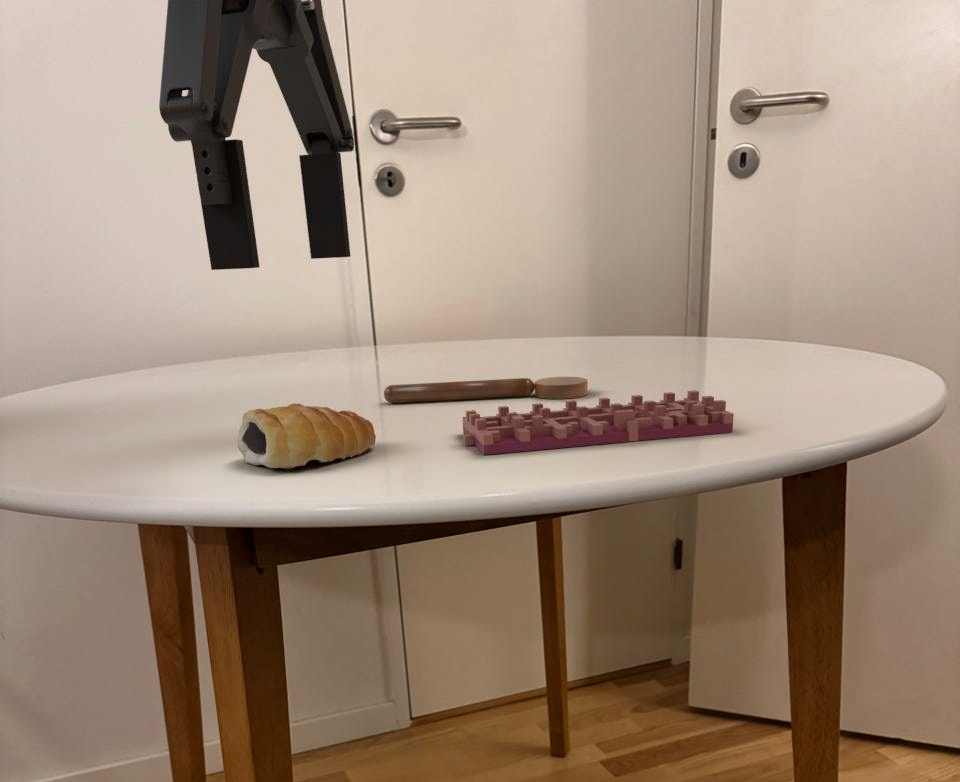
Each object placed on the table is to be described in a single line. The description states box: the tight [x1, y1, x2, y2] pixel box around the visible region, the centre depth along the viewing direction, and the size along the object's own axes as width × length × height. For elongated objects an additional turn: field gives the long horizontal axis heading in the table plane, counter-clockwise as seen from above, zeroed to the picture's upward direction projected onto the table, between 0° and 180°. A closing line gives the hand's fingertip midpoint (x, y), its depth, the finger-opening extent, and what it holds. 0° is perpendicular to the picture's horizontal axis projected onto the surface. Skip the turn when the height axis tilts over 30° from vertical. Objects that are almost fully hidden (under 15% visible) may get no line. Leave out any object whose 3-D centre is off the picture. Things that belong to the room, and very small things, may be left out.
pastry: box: [237, 403, 377, 470], centre depth 65 cm, size 9×7×4 cm
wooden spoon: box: [383, 376, 589, 404], centre depth 84 cm, size 18×5×2 cm, turn 93°
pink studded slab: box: [461, 389, 735, 456], centre depth 68 cm, size 7×19×2 cm, turn 102°
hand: (288, 263), depth 60 cm, fingers open, 13 cm apart
